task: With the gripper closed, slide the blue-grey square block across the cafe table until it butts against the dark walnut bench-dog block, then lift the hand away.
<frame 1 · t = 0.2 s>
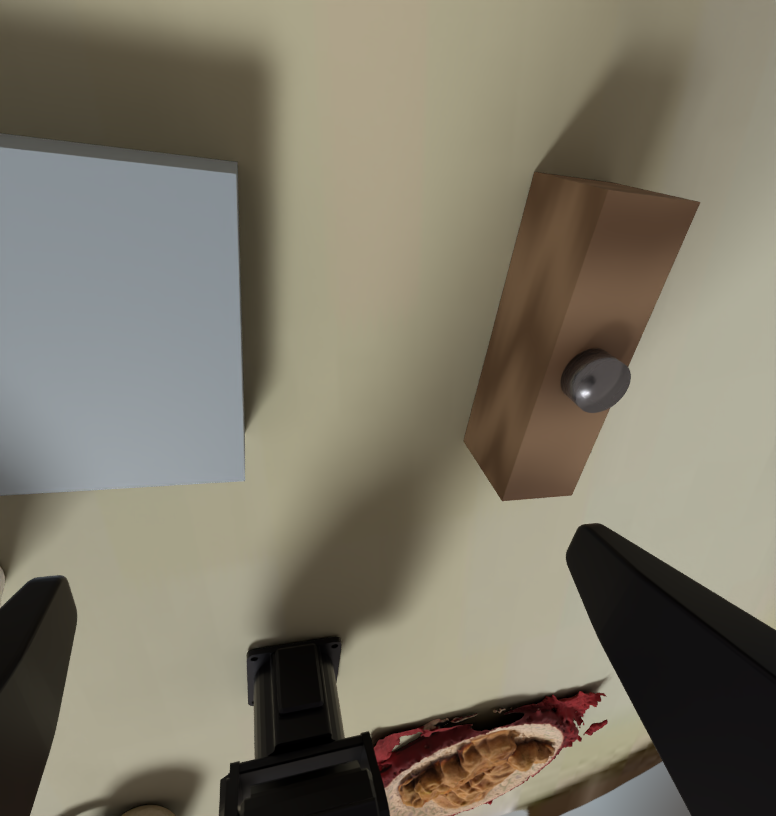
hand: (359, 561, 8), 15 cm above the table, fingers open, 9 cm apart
plate with food: (464, 753, 54), on the table
walnut bench dog: (528, 328, 24), on the table
blue-grey square block: (84, 309, 19), on the table
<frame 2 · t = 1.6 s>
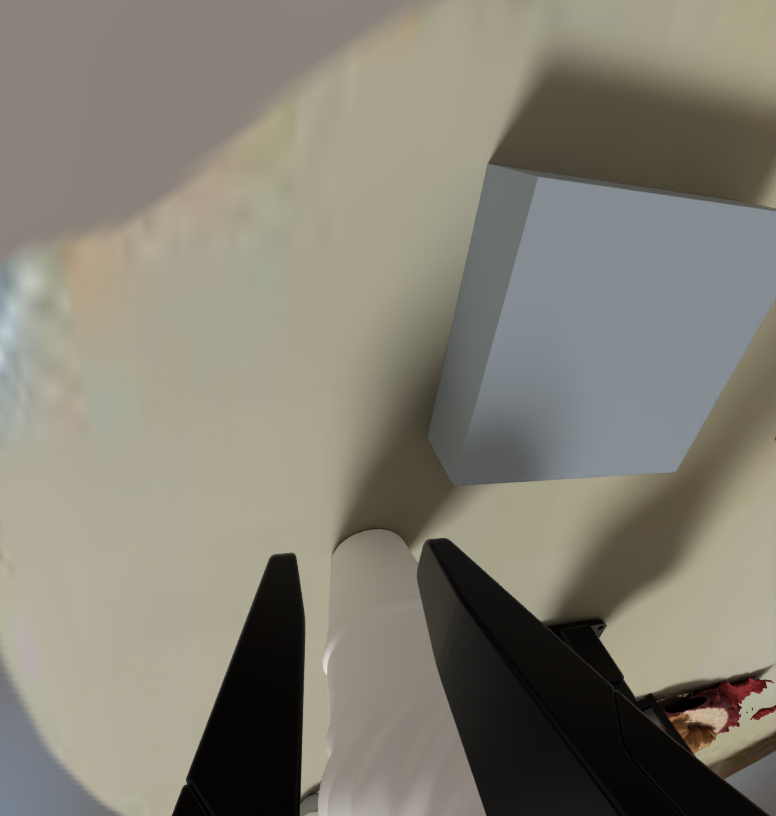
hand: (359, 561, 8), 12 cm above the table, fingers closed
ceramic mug: (351, 794, 44), on the table
plate with food: (627, 738, 57), on the table
soft serve ice cream cone: (367, 552, 27), on the table
blue-grey square block: (568, 323, 22), on the table
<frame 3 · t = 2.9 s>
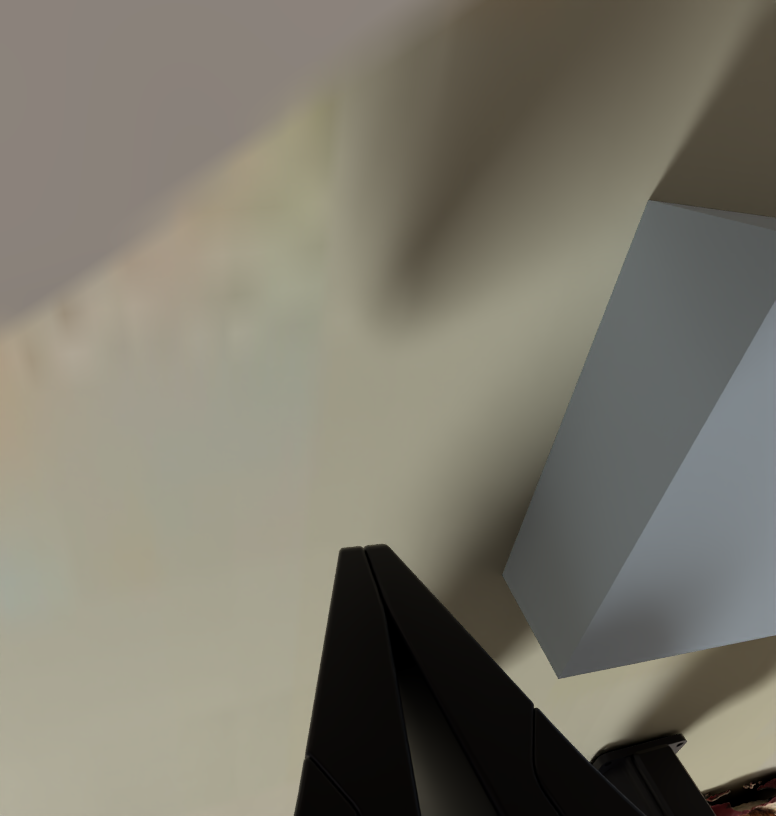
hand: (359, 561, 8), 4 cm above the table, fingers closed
blue-grey square block: (711, 418, 15), on the table
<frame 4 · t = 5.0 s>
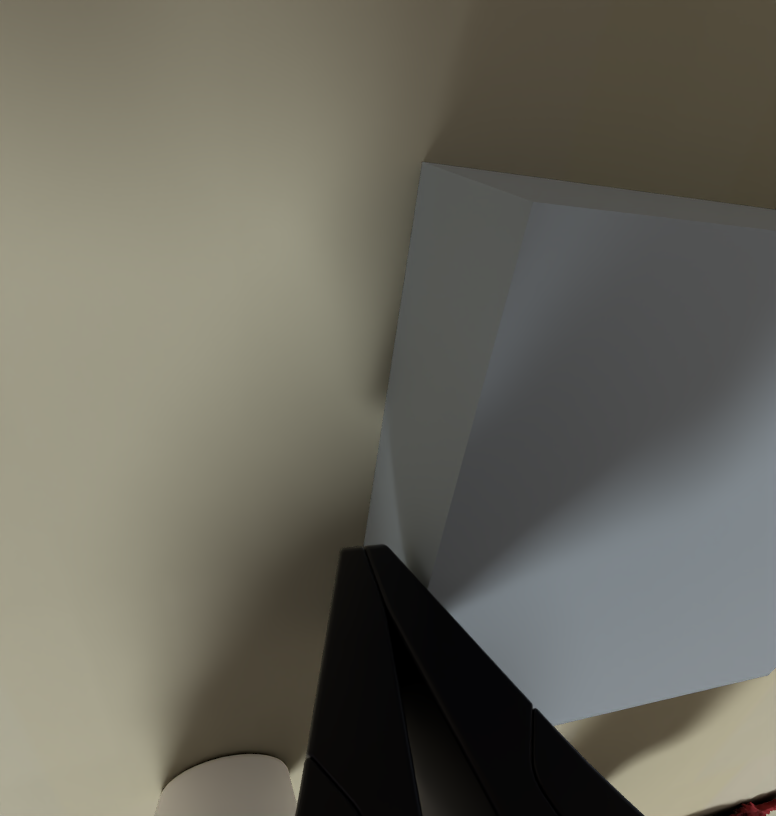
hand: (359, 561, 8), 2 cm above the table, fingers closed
soft serve ice cream cone: (226, 777, 17), on the table
blue-grey square block: (590, 440, 13), on the table
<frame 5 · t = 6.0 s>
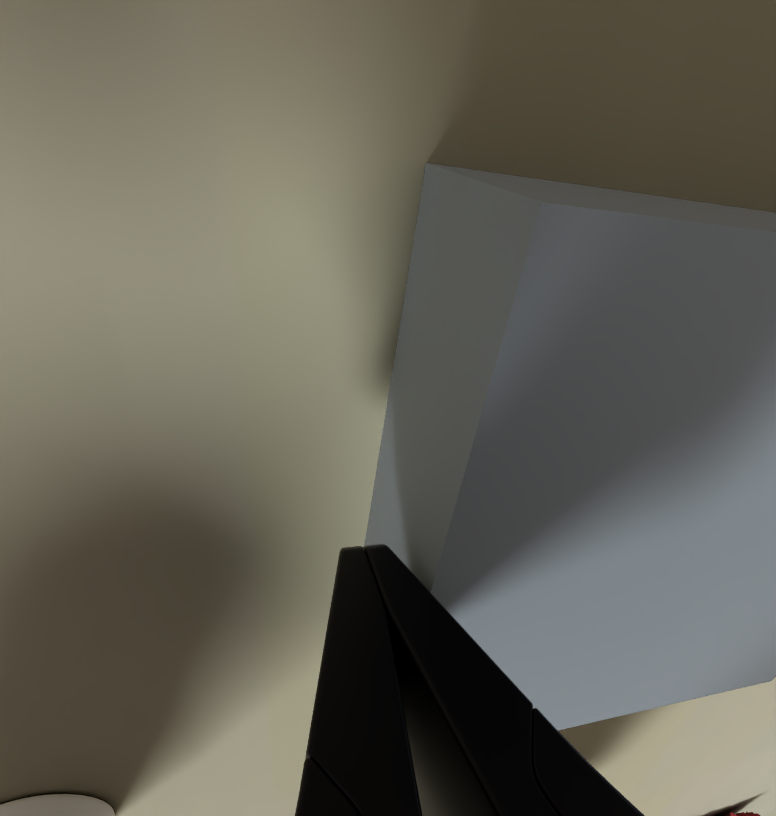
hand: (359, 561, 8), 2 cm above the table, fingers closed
blue-grey square block: (593, 443, 13), on the table, touching gripper
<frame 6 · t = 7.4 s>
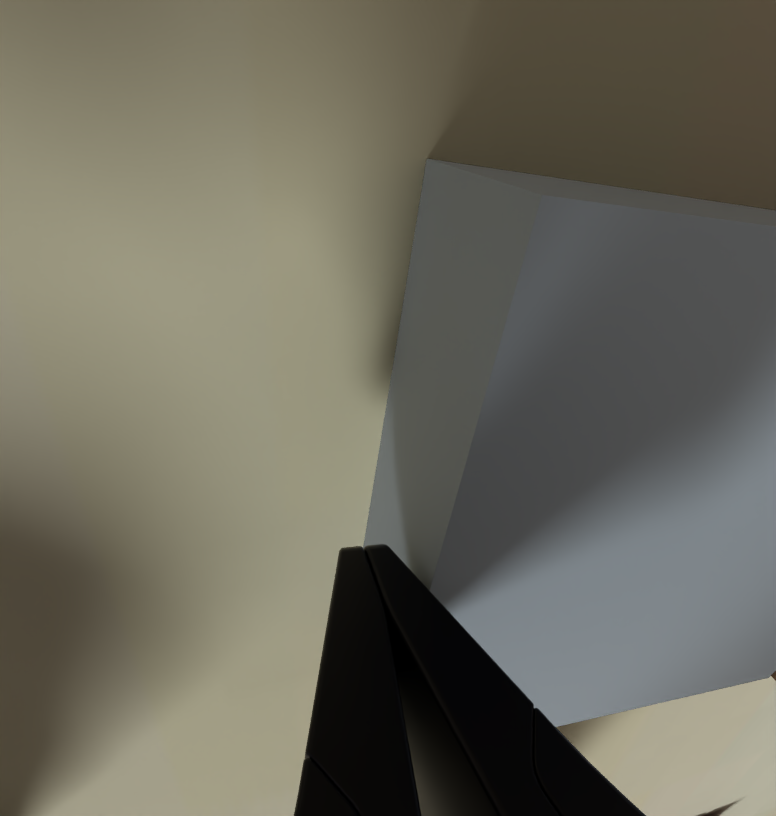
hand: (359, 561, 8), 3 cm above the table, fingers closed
blue-grey square block: (592, 440, 13), on the table
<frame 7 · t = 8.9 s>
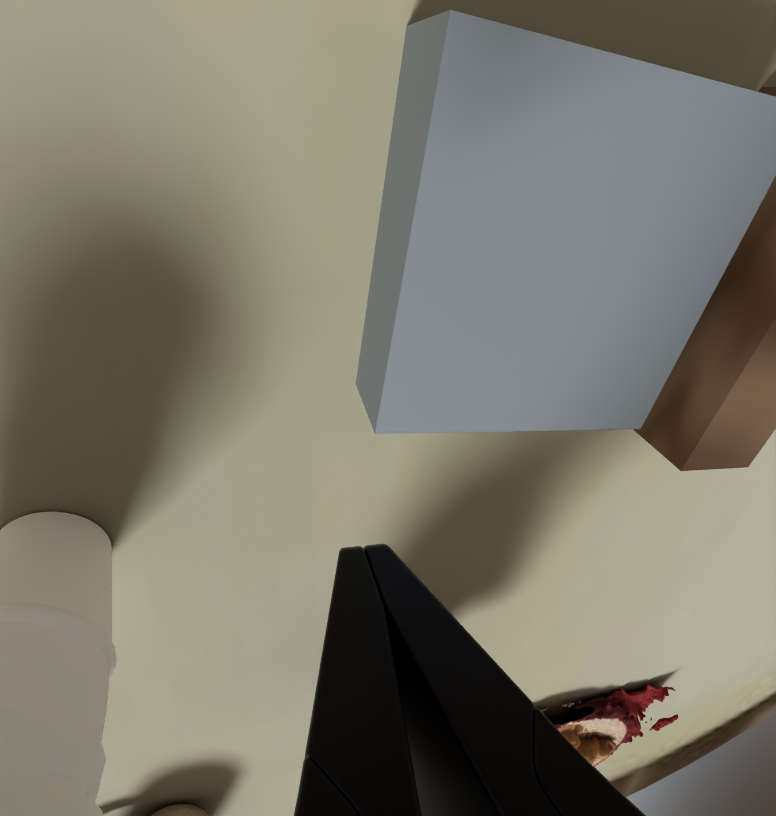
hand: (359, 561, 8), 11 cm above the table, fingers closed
plate with food: (520, 748, 52), on the table
walnut bench dog: (706, 279, 22), on the table
soft serve ice cream cone: (57, 542, 21), on the table
blue-grey square block: (518, 250, 19), on the table
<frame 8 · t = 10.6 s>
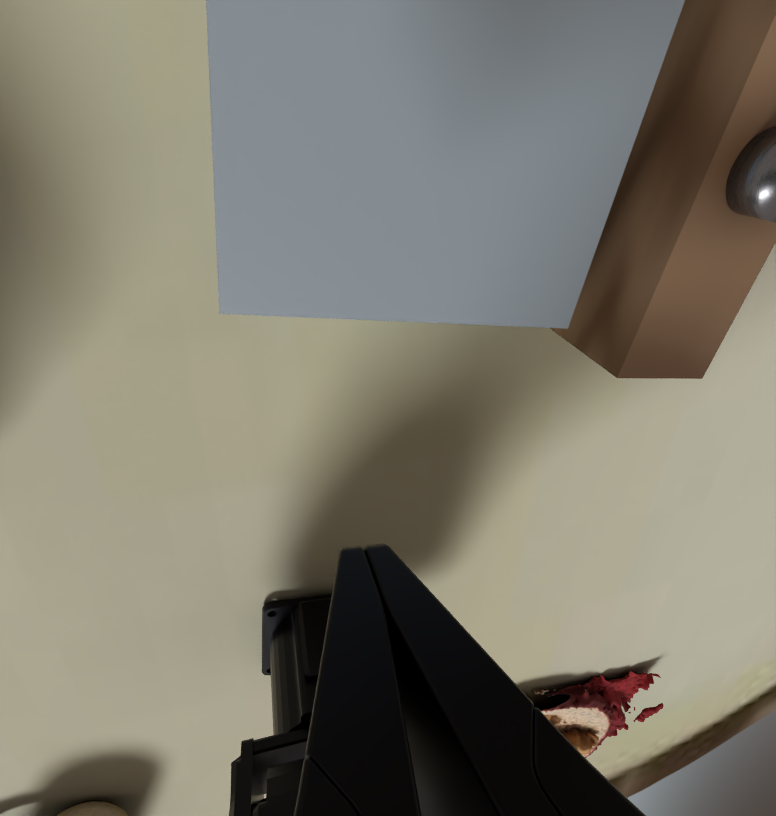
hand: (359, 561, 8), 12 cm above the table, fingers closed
plate with food: (495, 743, 48), on the table
walnut bench dog: (646, 156, 18), on the table
blue-grey square block: (408, 106, 16), on the table
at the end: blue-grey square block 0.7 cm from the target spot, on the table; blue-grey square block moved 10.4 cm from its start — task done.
